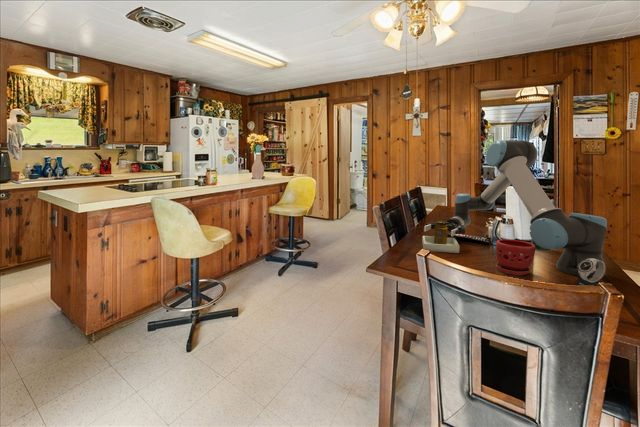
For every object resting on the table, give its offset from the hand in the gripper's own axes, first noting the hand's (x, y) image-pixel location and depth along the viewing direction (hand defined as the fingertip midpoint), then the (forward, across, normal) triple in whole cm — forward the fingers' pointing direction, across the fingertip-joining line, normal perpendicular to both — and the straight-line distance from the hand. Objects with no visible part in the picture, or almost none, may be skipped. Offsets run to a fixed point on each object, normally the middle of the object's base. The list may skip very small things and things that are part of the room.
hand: (437, 231), depth 156 cm
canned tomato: (-35, -38, -9) cm, 52 cm away
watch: (+12, -59, -9) cm, 61 cm away
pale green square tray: (-3, 0, -9) cm, 10 cm away
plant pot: (+10, -35, -9) cm, 38 cm away
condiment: (-3, 0, -8) cm, 9 cm away
